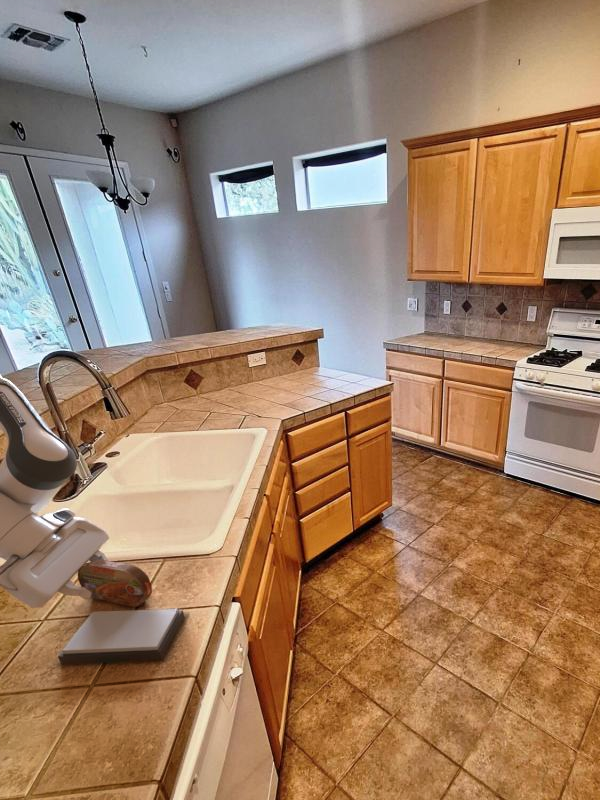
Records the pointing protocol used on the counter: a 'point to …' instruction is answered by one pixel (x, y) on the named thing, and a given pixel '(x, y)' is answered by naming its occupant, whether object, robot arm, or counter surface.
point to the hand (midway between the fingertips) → (102, 582)
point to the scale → (123, 636)
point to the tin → (116, 582)
